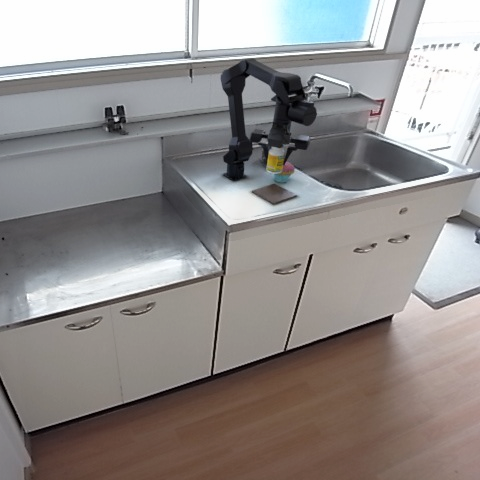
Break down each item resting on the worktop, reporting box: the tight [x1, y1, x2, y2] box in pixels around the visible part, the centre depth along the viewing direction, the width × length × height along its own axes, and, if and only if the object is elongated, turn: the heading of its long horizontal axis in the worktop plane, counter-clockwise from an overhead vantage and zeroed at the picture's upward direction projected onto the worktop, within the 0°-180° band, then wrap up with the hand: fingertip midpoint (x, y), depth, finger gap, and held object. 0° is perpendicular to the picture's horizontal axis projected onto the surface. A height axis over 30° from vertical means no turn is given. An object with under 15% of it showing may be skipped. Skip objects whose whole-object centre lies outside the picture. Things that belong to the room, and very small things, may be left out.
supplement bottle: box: [266, 144, 286, 175], centre depth 132 cm, size 5×5×10 cm
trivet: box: [251, 183, 298, 205], centre depth 140 cm, size 11×11×1 cm
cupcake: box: [273, 160, 296, 183], centre depth 147 cm, size 9×8×12 cm
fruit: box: [260, 147, 272, 167], centre depth 162 cm, size 9×8×15 cm
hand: (275, 163), depth 133 cm, fingers closed on supplement bottle, 5 cm apart
